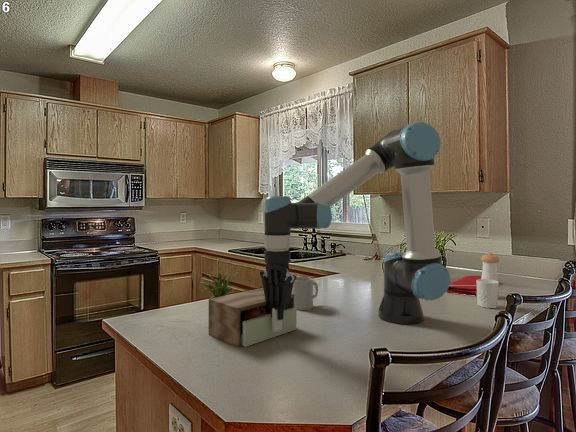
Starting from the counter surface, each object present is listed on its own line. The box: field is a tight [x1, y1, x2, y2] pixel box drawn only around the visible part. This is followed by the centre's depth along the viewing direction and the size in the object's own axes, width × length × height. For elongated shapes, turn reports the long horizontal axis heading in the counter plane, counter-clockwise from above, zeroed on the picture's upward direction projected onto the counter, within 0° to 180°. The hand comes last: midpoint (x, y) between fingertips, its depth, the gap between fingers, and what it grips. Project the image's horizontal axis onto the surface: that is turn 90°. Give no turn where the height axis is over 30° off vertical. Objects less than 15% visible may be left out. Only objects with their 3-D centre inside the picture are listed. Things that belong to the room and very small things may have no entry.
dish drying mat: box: [446, 275, 482, 296], centre depth 186 cm, size 16×41×4 cm, turn 140°
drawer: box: [240, 307, 298, 348], centre depth 118 cm, size 15×21×7 cm
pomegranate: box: [244, 307, 267, 321], centre depth 119 cm, size 7×7×10 cm
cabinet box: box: [208, 287, 294, 347], centre depth 120 cm, size 14×23×11 cm, turn 136°
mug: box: [292, 276, 319, 311], centre depth 148 cm, size 12×8×11 cm
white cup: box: [476, 279, 500, 309], centre depth 151 cm, size 8×8×10 cm
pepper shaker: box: [480, 252, 500, 297], centre depth 166 cm, size 7×7×19 cm
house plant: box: [199, 270, 239, 299], centre depth 137 cm, size 14×14×16 cm
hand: (277, 329), depth 112 cm, fingers closed
